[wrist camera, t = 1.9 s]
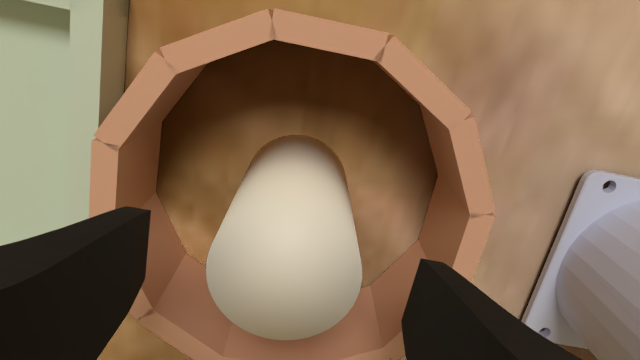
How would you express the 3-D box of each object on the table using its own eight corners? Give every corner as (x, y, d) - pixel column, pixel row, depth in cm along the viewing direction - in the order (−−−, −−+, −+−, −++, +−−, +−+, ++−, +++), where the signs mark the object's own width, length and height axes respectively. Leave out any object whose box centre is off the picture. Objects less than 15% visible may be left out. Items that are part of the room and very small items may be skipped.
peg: (355, 145, 18) (379, 219, 11) (334, 236, 19) (343, 351, 12) (254, 126, 17) (216, 190, 11) (240, 218, 19) (197, 327, 12)
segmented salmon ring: (496, 57, 16) (549, 67, 13) (406, 336, 21) (426, 406, 17) (150, -18, 16) (97, -30, 12) (128, 289, 20) (83, 353, 16)
